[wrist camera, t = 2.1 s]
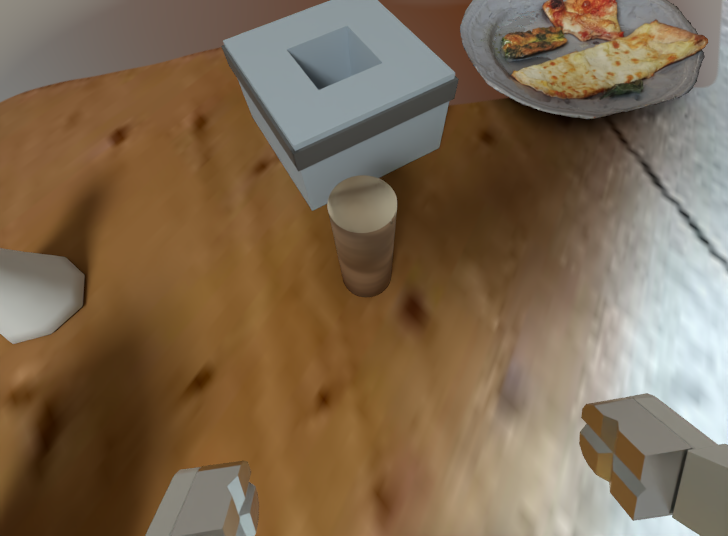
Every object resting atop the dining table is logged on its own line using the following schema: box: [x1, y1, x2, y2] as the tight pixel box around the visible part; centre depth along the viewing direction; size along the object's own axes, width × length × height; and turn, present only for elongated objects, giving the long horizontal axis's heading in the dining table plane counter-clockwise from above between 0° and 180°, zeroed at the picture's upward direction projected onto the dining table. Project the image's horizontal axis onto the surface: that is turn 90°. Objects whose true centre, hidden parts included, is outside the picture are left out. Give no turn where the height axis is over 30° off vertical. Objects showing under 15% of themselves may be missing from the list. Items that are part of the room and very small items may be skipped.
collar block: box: [222, 0, 458, 211], centre depth 33 cm, size 14×14×8 cm
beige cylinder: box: [328, 175, 397, 297], centre depth 25 cm, size 4×4×10 cm
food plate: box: [460, 0, 708, 119], centre depth 39 cm, size 25×23×4 cm
